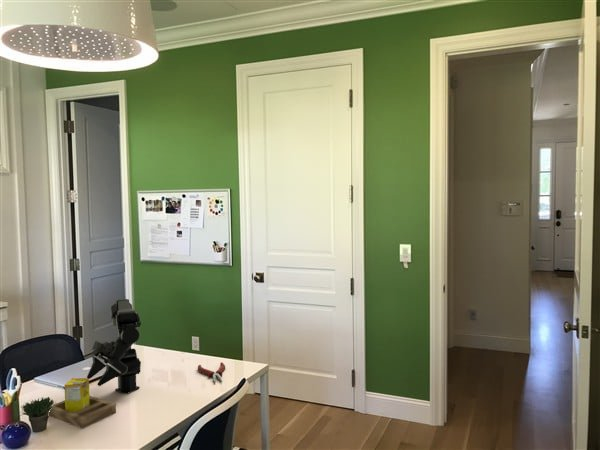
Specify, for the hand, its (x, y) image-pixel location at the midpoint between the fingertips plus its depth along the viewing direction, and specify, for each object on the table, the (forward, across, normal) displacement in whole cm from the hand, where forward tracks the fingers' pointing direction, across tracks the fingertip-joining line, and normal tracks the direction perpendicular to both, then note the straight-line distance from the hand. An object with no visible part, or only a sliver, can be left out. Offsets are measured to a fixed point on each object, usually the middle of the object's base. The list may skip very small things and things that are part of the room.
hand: (92, 381), depth 168 cm
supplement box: (+10, 0, +3) cm, 11 cm away
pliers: (-26, +2, +40) cm, 48 cm away
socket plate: (+10, +3, +3) cm, 11 cm away
